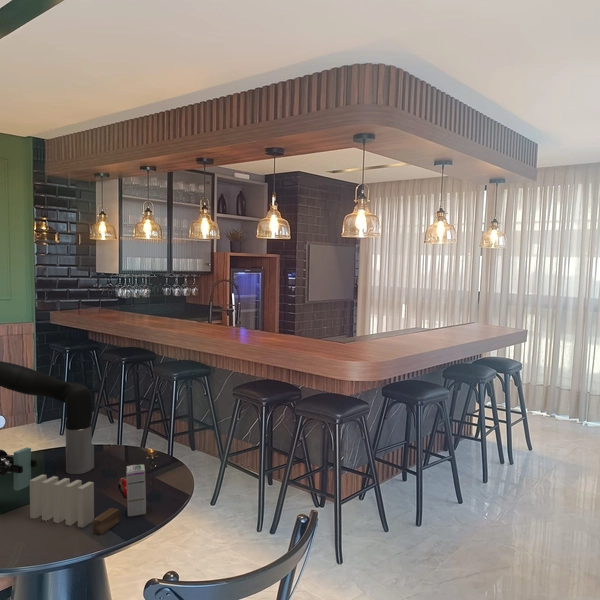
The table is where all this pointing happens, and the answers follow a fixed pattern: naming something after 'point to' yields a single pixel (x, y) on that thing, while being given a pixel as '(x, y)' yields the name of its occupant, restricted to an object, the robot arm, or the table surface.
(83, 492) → the domino
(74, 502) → the domino
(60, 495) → the domino
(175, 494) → the table surface
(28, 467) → the domino
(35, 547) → the table surface
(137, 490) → the syrup box
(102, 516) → the end stop
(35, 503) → the domino
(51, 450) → the table surface
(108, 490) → the table surface
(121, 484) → the race car
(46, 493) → the domino
